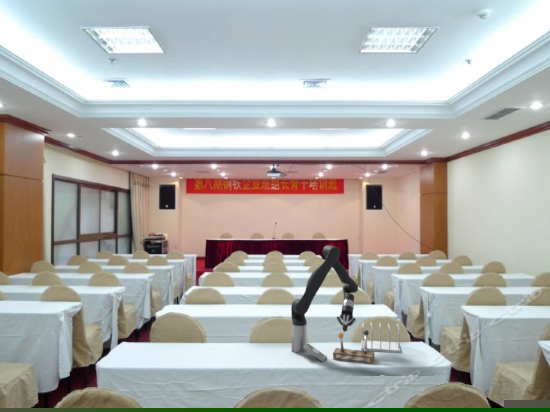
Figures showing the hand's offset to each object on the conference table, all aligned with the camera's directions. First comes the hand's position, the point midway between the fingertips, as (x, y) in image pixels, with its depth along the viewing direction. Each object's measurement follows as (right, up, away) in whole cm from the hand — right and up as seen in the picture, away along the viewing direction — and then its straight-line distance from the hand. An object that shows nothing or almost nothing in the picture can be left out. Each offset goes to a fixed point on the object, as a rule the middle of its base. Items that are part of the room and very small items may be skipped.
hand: (344, 330), depth 264 cm
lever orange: (-3, -10, -8) cm, 13 cm away
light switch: (-20, -14, -11) cm, 27 cm away
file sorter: (+26, -15, +12) cm, 32 cm away
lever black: (+11, -10, -13) cm, 19 cm away
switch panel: (+4, -14, -11) cm, 18 cm away
